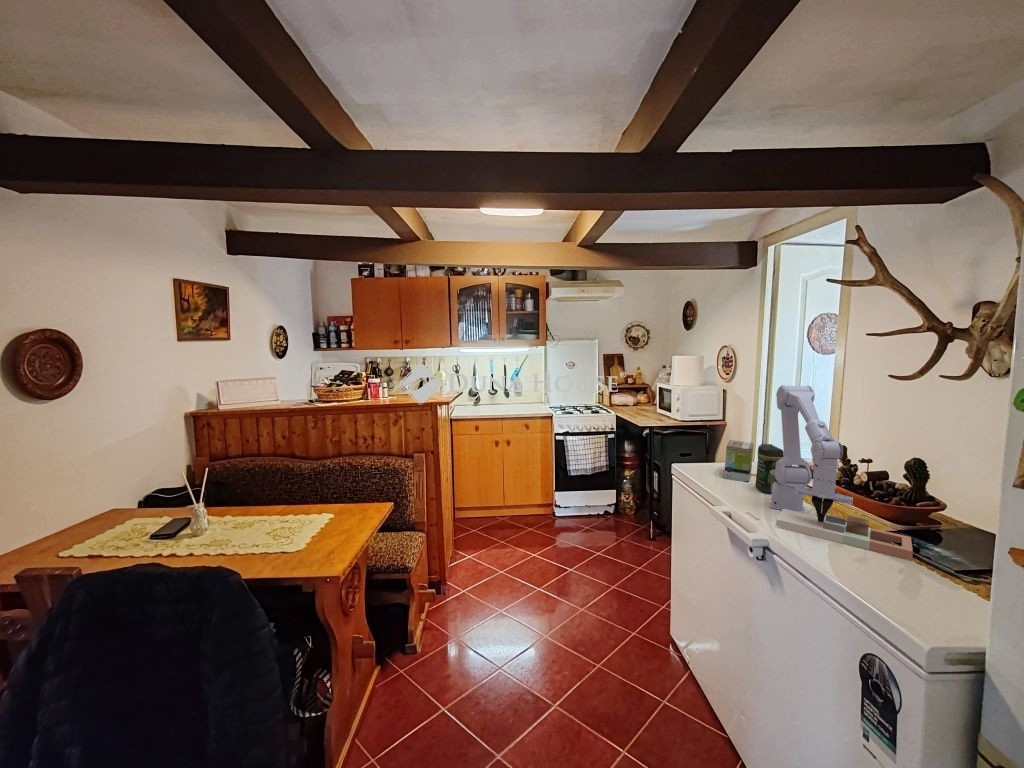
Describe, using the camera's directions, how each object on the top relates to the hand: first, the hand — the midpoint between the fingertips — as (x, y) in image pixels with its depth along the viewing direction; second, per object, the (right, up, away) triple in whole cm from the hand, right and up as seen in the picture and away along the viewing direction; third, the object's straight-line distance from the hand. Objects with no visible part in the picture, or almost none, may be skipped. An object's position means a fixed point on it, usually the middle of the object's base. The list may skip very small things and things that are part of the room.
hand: (820, 521), depth 134 cm
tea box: (+4, +2, +56) cm, 56 cm away
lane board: (+4, -4, -3) cm, 6 cm away
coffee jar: (+6, 0, +37) cm, 38 cm away
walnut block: (+7, -1, -6) cm, 9 cm away
